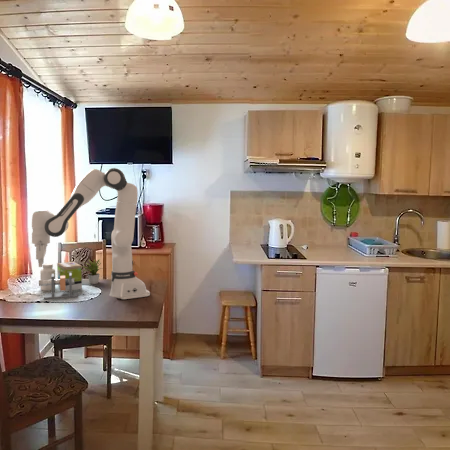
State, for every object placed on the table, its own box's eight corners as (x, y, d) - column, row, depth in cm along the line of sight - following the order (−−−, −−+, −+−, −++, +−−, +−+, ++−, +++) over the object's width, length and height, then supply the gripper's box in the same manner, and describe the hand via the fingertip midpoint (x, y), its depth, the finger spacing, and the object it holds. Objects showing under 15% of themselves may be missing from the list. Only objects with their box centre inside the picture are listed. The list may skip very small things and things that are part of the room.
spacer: (65, 287, 226) (65, 275, 226) (65, 290, 220) (65, 278, 219) (60, 287, 225) (60, 275, 225) (60, 290, 219) (60, 278, 218)
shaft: (74, 283, 226) (74, 277, 226) (74, 284, 223) (74, 278, 223) (39, 285, 219) (39, 279, 219) (38, 286, 217) (38, 281, 216)
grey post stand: (77, 292, 230) (76, 272, 229) (77, 297, 221) (77, 275, 220) (44, 294, 224) (44, 273, 223) (43, 299, 215) (43, 277, 214)
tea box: (57, 286, 244) (56, 262, 242) (74, 284, 250) (73, 261, 249) (65, 291, 232) (64, 266, 231) (82, 289, 238) (82, 264, 237)
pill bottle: (56, 290, 236) (56, 264, 234) (42, 291, 231) (41, 266, 230) (53, 287, 242) (53, 262, 241) (39, 288, 238) (38, 263, 236)
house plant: (89, 280, 261) (88, 255, 260) (109, 281, 259) (109, 256, 257) (77, 285, 247) (77, 259, 246) (98, 286, 245) (98, 260, 243)
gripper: (46, 242, 208) (46, 268, 209) (48, 237, 227) (48, 261, 228) (32, 242, 206) (33, 269, 207) (35, 237, 225) (36, 262, 226)
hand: (41, 265), depth 218 cm, fingers open, 8 cm apart
